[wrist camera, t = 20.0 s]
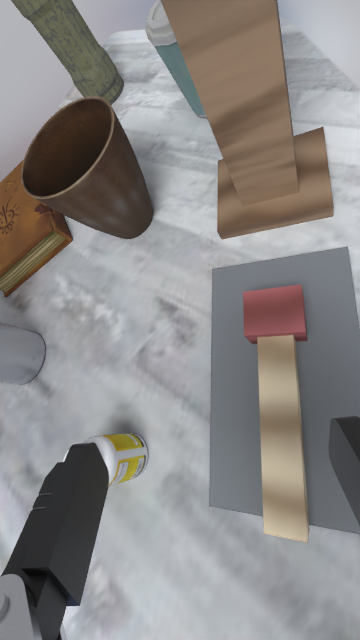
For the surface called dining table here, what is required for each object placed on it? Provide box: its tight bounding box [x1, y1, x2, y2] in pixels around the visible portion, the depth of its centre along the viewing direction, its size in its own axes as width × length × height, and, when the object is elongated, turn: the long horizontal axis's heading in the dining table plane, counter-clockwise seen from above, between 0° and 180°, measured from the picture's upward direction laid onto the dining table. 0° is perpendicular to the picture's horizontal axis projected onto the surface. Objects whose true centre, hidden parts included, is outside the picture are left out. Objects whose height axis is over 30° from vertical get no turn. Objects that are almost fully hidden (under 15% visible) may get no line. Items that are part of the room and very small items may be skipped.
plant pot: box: [21, 96, 153, 239], centre depth 44 cm, size 15×15×16 cm
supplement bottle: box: [63, 433, 148, 486], centre depth 34 cm, size 5×5×10 cm
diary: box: [0, 160, 72, 297], centre depth 61 cm, size 23×19×6 cm
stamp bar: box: [243, 285, 309, 543], centre depth 30 cm, size 23×6×4 cm, turn 178°
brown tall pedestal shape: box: [161, 0, 333, 239], centre depth 27 cm, size 16×14×32 cm
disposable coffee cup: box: [145, 0, 207, 118], centre depth 44 cm, size 11×11×15 cm
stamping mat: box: [209, 247, 360, 534], centre depth 33 cm, size 28×16×1 cm, turn 178°
